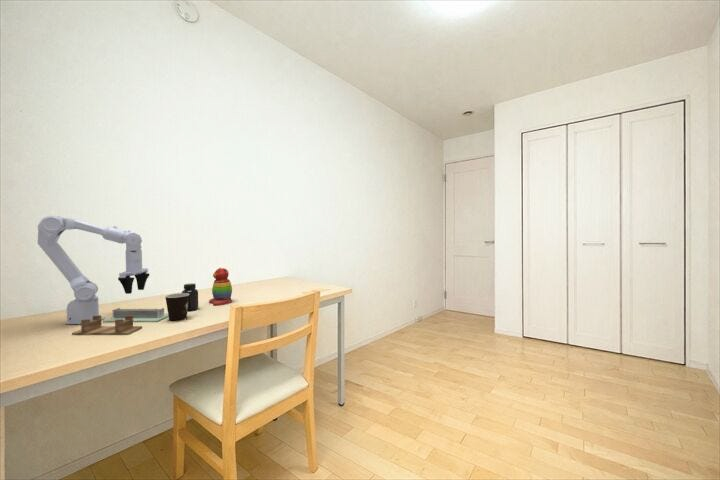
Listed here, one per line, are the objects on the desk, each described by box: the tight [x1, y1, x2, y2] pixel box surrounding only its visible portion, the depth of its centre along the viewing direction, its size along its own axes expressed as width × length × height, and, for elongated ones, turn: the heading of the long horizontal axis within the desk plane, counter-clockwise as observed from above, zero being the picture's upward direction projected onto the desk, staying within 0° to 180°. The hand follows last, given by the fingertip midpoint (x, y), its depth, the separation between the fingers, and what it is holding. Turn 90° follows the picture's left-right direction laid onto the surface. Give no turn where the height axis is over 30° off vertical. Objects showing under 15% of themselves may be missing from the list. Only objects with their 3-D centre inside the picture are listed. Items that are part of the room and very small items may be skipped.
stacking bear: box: [208, 267, 233, 307], centre depth 155 cm, size 11×10×18 cm
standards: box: [71, 314, 143, 336], centre depth 112 cm, size 20×7×5 cm, turn 91°
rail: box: [111, 307, 165, 318], centre depth 128 cm, size 19×3×3 cm, turn 91°
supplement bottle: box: [181, 283, 199, 312], centre depth 142 cm, size 7×7×12 cm
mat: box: [102, 313, 169, 323], centre depth 128 cm, size 22×10×1 cm, turn 91°
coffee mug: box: [165, 292, 189, 322], centre depth 129 cm, size 12×9×10 cm
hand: (134, 291), depth 133 cm, fingers open, 7 cm apart
